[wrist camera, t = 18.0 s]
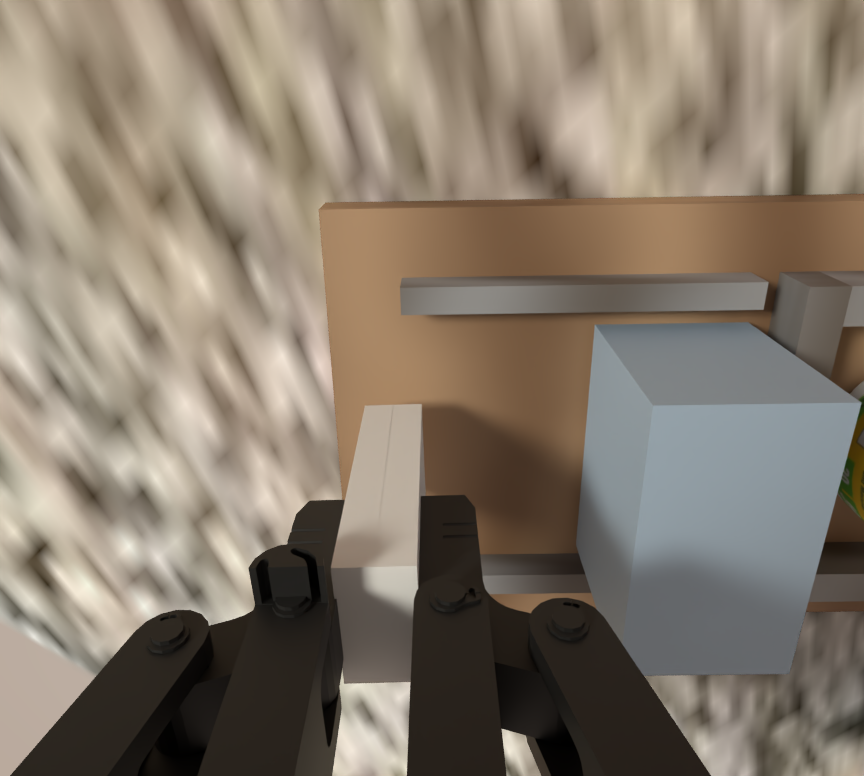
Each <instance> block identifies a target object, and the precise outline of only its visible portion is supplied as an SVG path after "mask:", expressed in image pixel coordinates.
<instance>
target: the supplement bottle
mask: <svg viewBox="0 0 864 776" xmlns="http://www.w3.org/2000/svg"><path fill="white" fill-rule="evenodd" d="M850 395H852V396H853V397H854V398H856V399H857V400H859V401H860V402H861V407H860V411H859V414H858V418H857V422H856V426H855V429H854V433H853V437H852V441H851V444H850V448H849V452H848V456H847V459H846V463H845V467H844V471H843V474H842V478H841V482H840V485H839V489H838V493H837V494H838V495H839V497H840V498H841V499H842V500H843V501H844V502H845V503H846V504H847V505H848V506H849V507H850V508H851V509H852V510H853V511H854V512H855V513H856V514H857V515H858V516H859V517H860V518H861V519H862V520H863V521H864V381H863V382H861V383H860V384H859V385H858V386H857V387H856V388H855V389H854V390H853V391H852V392H851V393H850Z"/></svg>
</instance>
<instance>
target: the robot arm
mask: <svg viewBox="0 0 864 776" xmlns="http://www.w3.org/2000/svg"><path fill="white" fill-rule="evenodd" d="M249 573H250V578H251V584H252V589H253V595H254V601H255V607H254V610H253V611H252V612H250V613H248V614H246V615H244V616H242V617H239V618H236V619H233V620H229V621H226V622H222V623H218V624H214V625H211V626H209V624H208V621H207V620H206V619H205V618H204V617H203V615H202V614H200V613H197V612H194V611H191V610H175V611H171V612H167V613H163V614H160V615H158V616H156V617H154V618H152V619H151V620H149V621H147V622H145V623H144V624H143V625H142V626H141V627H140V628H139V629H137V630H136V631H135V632H134V633H133V635H132V636H131V637H130V638H129V639H128V640H127V641H126V643H125V644H124V645H123V646H122V647H121V648H120V650H119V651H118V652H117V653H116V654H115V655H114V656H113V658H112V659H111V660H110V661H109V662H108V663H107V665H106V666H105V667H104V668H103V669H102V670H101V671H100V673H99V674H98V675H97V676H96V677H95V678H94V680H93V681H92V682H91V683H90V684H89V685H88V686H87V688H86V689H85V690H84V691H83V692H82V693H81V695H80V696H79V697H78V698H77V699H76V700H75V702H74V703H73V704H72V705H71V706H70V707H69V709H68V710H67V711H66V712H65V713H64V714H63V716H61V718H60V719H59V720H58V721H57V722H56V724H55V725H54V726H53V727H52V728H51V729H50V730H49V732H48V733H47V734H46V735H45V736H44V737H43V738H42V740H41V741H40V742H39V743H38V744H37V745H36V746H35V748H34V749H33V750H32V751H31V752H30V753H29V755H28V756H27V757H26V758H25V759H24V760H23V761H22V763H21V764H20V765H19V766H18V767H17V768H16V770H15V771H14V772H13V773H12V774H11V775H10V776H332V772H333V765H334V757H335V750H336V743H337V736H338V729H339V722H340V715H341V697H340V689H339V685H340V679H341V672H342V668H343V677H344V684H345V683H384V682H411V685H410V711H409V738H408V764H407V776H506V767H505V758H504V748H503V739H502V730H501V728H502V729H505V730H509V731H512V732H516V733H520V734H523V735H526V737H527V742H528V745H529V747H530V750H531V752H532V754H533V757H534V759H535V761H536V764H537V766H538V769H539V771H540V773H541V776H711V775H710V774H709V772H708V771H707V769H706V768H705V766H704V765H703V763H702V762H701V760H700V759H699V757H698V756H697V754H696V753H695V751H694V750H693V748H692V747H691V745H690V744H689V742H688V741H687V739H686V738H685V736H684V735H683V733H682V732H681V731H680V729H679V728H678V726H677V725H676V723H675V722H674V720H673V719H672V717H671V716H670V714H669V713H668V711H667V710H666V708H665V707H664V705H663V704H662V702H661V701H660V699H659V698H658V696H657V695H656V693H655V692H654V690H653V689H652V687H651V686H650V684H649V683H648V681H647V680H646V678H645V677H644V676H643V674H642V673H641V671H640V670H639V668H638V667H637V665H636V664H635V662H634V661H633V659H632V658H631V656H630V655H629V653H628V652H627V650H626V649H625V647H624V646H623V644H622V643H621V641H620V640H619V638H618V637H617V635H616V634H615V632H614V631H613V629H612V628H611V626H610V625H609V623H608V622H607V621H606V619H605V618H604V616H603V615H602V614H601V613H600V612H599V611H598V610H597V609H596V608H595V607H593V606H591V605H589V604H587V603H585V602H583V601H581V600H576V599H572V598H552V599H550V600H547V601H544V602H542V603H540V604H539V605H538V606H537V607H536V608H534V609H533V610H532V612H531V613H528V612H523V611H519V610H515V609H512V608H509V607H506V606H504V605H502V604H501V603H499V602H497V601H496V600H495V599H493V598H492V597H491V596H490V595H489V593H488V592H487V590H486V589H485V586H484V583H483V575H482V566H481V557H480V547H479V538H478V529H477V519H476V510H475V507H474V505H473V504H472V503H471V502H470V501H469V499H468V498H467V497H466V496H465V495H438V496H426V490H425V467H424V445H423V422H422V404H402V405H369V406H365V408H364V413H363V417H362V422H361V427H360V432H359V436H358V441H357V446H356V450H355V455H354V460H353V465H352V469H351V474H350V479H349V484H348V488H347V493H346V498H345V500H321V501H309V502H308V503H307V504H306V505H305V506H304V507H303V508H302V509H301V510H300V511H299V512H298V513H297V514H296V517H295V520H294V523H293V526H292V532H291V533H290V536H289V539H288V544H287V545H280V546H277V547H274V548H272V549H269V550H267V551H265V552H263V553H262V554H261V555H259V556H258V557H257V558H255V559H254V561H253V562H252V564H251V565H250V567H249Z"/></svg>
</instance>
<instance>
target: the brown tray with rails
mask: <svg viewBox="0 0 864 776" xmlns="http://www.w3.org/2000/svg"><path fill="white" fill-rule="evenodd" d="M319 218H320V231H321V243H322V255H323V267H324V279H325V292H326V304H327V316H328V328H329V341H330V353H331V365H332V377H333V390H334V402H335V414H336V426H337V438H338V451H339V463H340V475H341V487H342V500H345V498H346V493H347V488H348V484H349V479H350V474H351V469H352V465H353V460H354V455H355V450H356V446H357V441H358V436H359V432H360V427H361V422H362V417H363V413H364V408H365V406H369V405H402V404H422V422H423V445H424V467H425V490H426V496H438V495H465V496H466V497H467V498H468V499H469V501H470V502H471V503H472V504H473V505H474V507H475V510H476V519H477V529H478V538H479V547H480V557H481V566H482V575H483V583H484V586H485V589H486V590H487V592H488V593H489V595H490V596H491V597H492V598H493V599H495V600H496V601H497V602H499V603H501V604H502V605H504V606H506V607H509V608H512V609H515V610H519V611H523V612H528V613H531V612H532V610H533V609H534V608H536V607H537V606H538V605H539V604H540V603H542V602H544V601H547V600H550V599H552V598H572V599H576V600H581V601H583V602H585V603H587V604H589V605H591V606H593V607H595V608H596V606H595V603H594V599H593V596H592V593H591V590H590V587H589V584H588V581H587V578H586V575H585V571H584V568H583V565H582V562H581V559H580V556H579V553H578V550H577V547H576V538H577V526H578V514H579V503H580V491H581V479H582V468H583V456H584V445H585V433H586V421H587V410H588V398H589V386H590V375H591V363H592V352H593V340H594V328H595V325H600V324H667V323H734V322H749V323H750V324H751V325H753V326H754V327H756V328H757V329H758V330H760V331H761V332H763V333H764V334H765V335H767V336H768V337H770V338H771V339H773V340H774V341H775V342H777V343H778V344H780V345H781V346H782V347H784V348H785V349H787V350H788V351H789V352H791V353H792V354H794V355H795V356H796V357H798V358H799V359H801V360H802V361H804V362H805V363H806V364H808V365H809V366H811V367H812V368H813V369H815V370H816V371H818V372H819V373H820V374H822V375H823V376H825V377H826V378H828V379H829V380H830V381H832V382H833V383H835V384H836V385H837V386H839V387H840V388H842V389H843V390H844V391H846V392H847V393H849V394H850V393H851V392H852V391H853V390H854V389H855V388H856V387H857V386H858V385H859V384H860V383H861V382H863V381H864V194H835V195H773V196H711V197H649V198H587V199H525V200H463V201H401V202H339V203H325V204H324V205H323V206H322V207H321V208H320V209H319ZM840 611H864V521H863V520H862V519H861V518H860V517H859V516H858V515H857V514H856V513H855V512H854V511H853V510H852V509H851V508H850V507H849V506H848V505H847V504H846V503H845V502H844V501H843V500H842V499H841V498H840V497H839V495H838V494H837V497H836V500H835V504H834V508H833V512H832V515H831V519H830V523H829V527H828V530H827V534H826V538H825V542H824V545H823V549H822V553H821V557H820V560H819V564H818V568H817V572H816V575H815V579H814V583H813V587H812V590H811V594H810V598H809V602H808V605H807V609H806V612H840Z"/></svg>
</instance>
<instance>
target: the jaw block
mask: <svg viewBox="0 0 864 776" xmlns="http://www.w3.org/2000/svg"><path fill="white" fill-rule="evenodd" d="M860 407H861V402H860V401H859V400H857V399H856V398H854V397H853V396H852V395H850V394H849V393H847V392H846V391H844V390H843V389H842V388H840V387H839V386H837V385H836V384H835V383H833V382H832V381H830V380H829V379H828V378H826V377H825V376H823V375H822V374H820V373H819V372H818V371H816V370H815V369H813V368H812V367H811V366H809V365H808V364H806V363H805V362H804V361H802V360H801V359H799V358H798V357H796V356H795V355H794V354H792V353H791V352H789V351H788V350H787V349H785V348H784V347H782V346H781V345H780V344H778V343H777V342H775V341H774V340H773V339H771V338H770V337H768V336H767V335H765V334H764V333H763V332H761V331H760V330H758V329H757V328H756V327H754V326H753V325H751V324H750V323H749V322H734V323H667V324H600V325H595V328H594V340H593V352H592V363H591V375H590V386H589V398H588V410H587V421H586V433H585V445H584V456H583V468H582V479H581V491H580V503H579V514H578V526H577V538H576V547H577V550H578V553H579V556H580V559H581V562H582V565H583V568H584V571H585V575H586V578H587V581H588V584H589V587H590V590H591V593H592V596H593V599H594V603H595V606H596V609H597V610H598V611H599V612H600V613H601V614H602V615H603V616H604V618H605V619H606V621H607V622H608V623H609V625H610V626H611V628H612V629H613V631H614V632H615V634H616V635H617V637H618V638H619V640H620V641H621V643H622V644H623V646H624V647H625V649H626V650H627V652H628V653H629V655H630V656H631V658H632V659H633V661H634V662H635V664H636V665H637V667H638V668H639V670H640V671H641V673H642V674H643V676H654V675H741V674H789V673H790V669H791V665H792V661H793V658H794V654H795V650H796V646H797V643H798V639H799V635H800V632H801V628H802V624H803V620H804V617H805V613H806V609H807V605H808V602H809V598H810V594H811V590H812V587H813V583H814V579H815V575H816V572H817V568H818V564H819V560H820V557H821V553H822V549H823V545H824V542H825V538H826V534H827V530H828V527H829V523H830V519H831V515H832V512H833V508H834V504H835V500H836V497H837V493H838V489H839V485H840V482H841V478H842V474H843V471H844V467H845V463H846V459H847V456H848V452H849V448H850V444H851V441H852V437H853V433H854V429H855V426H856V422H857V418H858V414H859V411H860Z"/></svg>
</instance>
